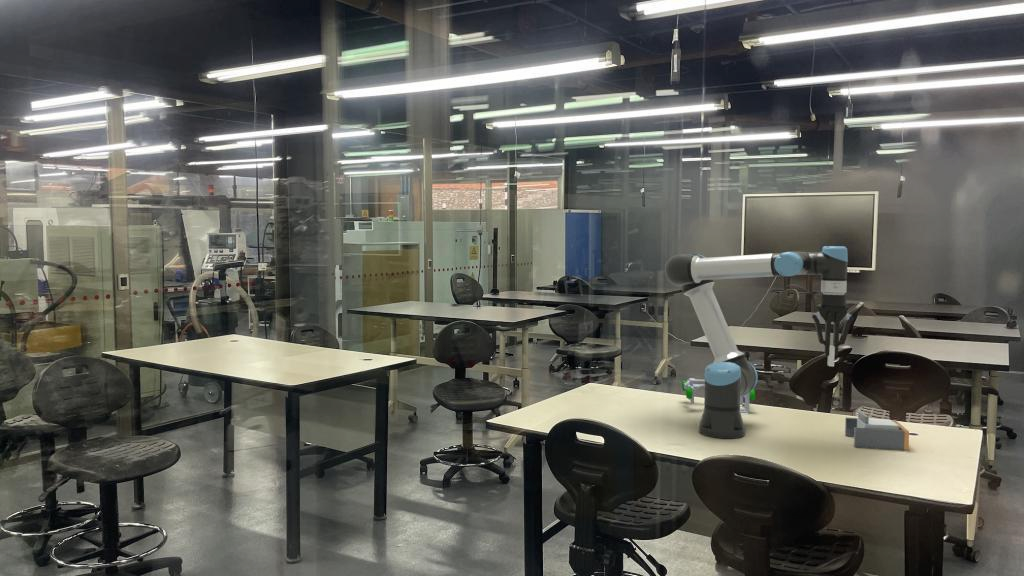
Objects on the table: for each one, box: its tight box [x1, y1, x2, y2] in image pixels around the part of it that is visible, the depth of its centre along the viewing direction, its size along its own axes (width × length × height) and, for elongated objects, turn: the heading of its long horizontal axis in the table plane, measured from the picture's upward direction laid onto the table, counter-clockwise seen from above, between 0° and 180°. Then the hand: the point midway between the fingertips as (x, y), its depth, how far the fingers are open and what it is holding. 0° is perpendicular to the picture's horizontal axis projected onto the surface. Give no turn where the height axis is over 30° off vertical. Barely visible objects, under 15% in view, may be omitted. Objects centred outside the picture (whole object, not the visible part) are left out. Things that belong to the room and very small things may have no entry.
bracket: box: [681, 377, 756, 414], centre depth 269 cm, size 19×25×10 cm
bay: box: [844, 417, 910, 452], centre depth 220 cm, size 15×14×6 cm
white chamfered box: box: [856, 411, 899, 430], centre depth 220 cm, size 10×8×9 cm
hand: (830, 365), depth 222 cm, fingers closed
